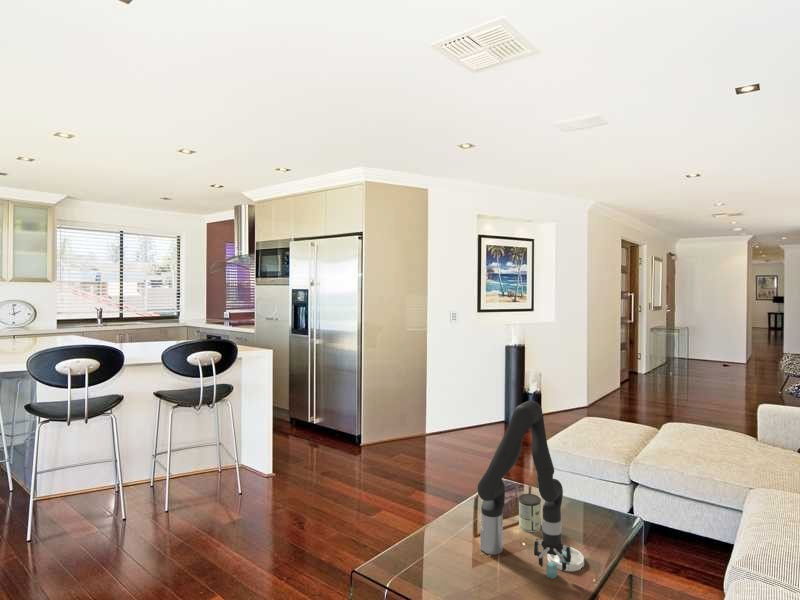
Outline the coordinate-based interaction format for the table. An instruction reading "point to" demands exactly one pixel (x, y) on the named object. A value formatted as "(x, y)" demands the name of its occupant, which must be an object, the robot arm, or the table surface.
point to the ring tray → (575, 562)
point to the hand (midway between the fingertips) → (552, 567)
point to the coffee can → (529, 512)
